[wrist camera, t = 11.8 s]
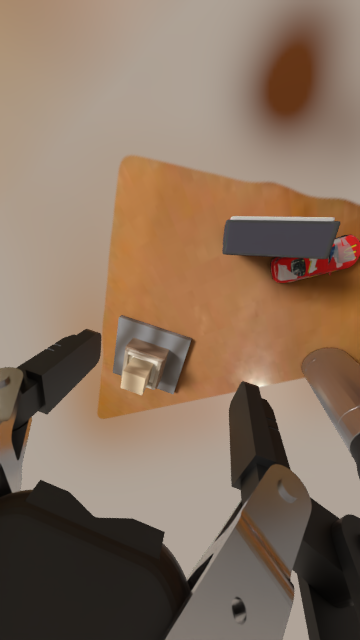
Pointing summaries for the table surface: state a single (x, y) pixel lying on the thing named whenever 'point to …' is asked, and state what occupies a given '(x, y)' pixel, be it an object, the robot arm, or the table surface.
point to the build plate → (157, 339)
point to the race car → (317, 261)
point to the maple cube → (136, 375)
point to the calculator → (280, 236)
